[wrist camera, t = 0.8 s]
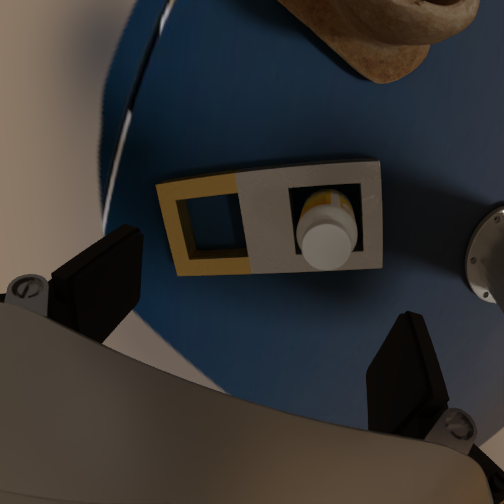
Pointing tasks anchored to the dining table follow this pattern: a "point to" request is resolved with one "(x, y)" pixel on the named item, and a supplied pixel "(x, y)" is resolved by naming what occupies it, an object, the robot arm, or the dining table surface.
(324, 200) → the supplement bottle
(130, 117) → the dining table surface
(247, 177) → the holder
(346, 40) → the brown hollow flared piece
